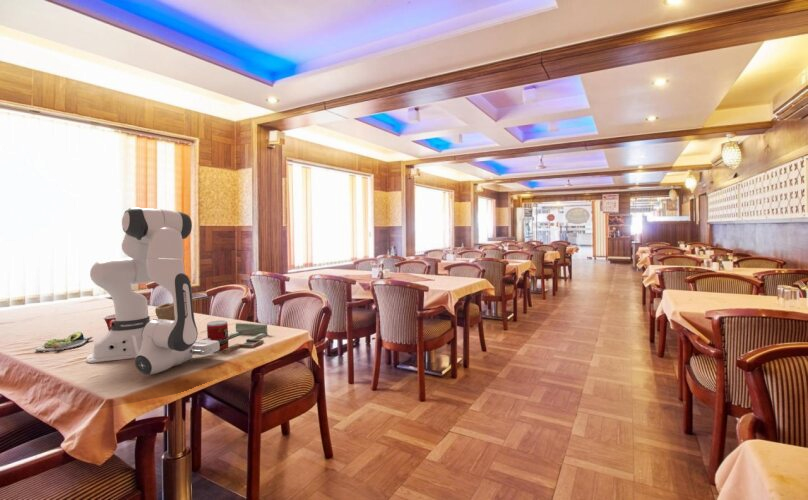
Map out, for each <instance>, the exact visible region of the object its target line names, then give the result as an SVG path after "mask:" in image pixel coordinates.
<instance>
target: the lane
mask: <svg viewBox="0 0 808 500" xmlns="http://www.w3.org/2000/svg"><path fill="white" fill-rule="evenodd" d="M238 335H242V336H245V335H247V336H249V335H250V336H252V337H248V338H246V339H245V342H244V343H236V344H233V345H230V346H228V348H226V349H223V350H221V351H222V354H229V353H231V352H232V351H235V350H237V349H240V348H246V349H253V348H255V347H259V345H262V344H264V343H265V341H264V339H262V338H263V337H266V336H268V324H267V323H251V322H250V323H245V322H236V323H235V331H234V332H231V333H228V340H229V339H231V338H235V337H236V336H238ZM206 338H207V339H208V337H206Z"/></svg>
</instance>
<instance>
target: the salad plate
mask: <svg viewBox="0 0 808 500" xmlns="http://www.w3.org/2000/svg"><path fill="white" fill-rule="evenodd" d="M93 337H94V336H90V337H88V336H86V337H85V336H84V333H82V332H81V331H79V332H74V333H72V334H70V335H69V336H68V337H67V338H64V339H61V338H60V339H57V338H53V339H51V340H47V342H43V343H42V344H40V345H39V346H37V347H36V348H35V351H37V352H39V351H52V352H56V351H55V350H61V351H65V350H64V349H66V350H70V349H69V348H71V349H74V348H73V347H75V348H78V347H81V346H83V345H84V344H86V343H87V342H88V341H90V340H91V339H92V338H93ZM85 342H86V343H85ZM80 345H81V346H80ZM77 346H78V347H77ZM42 347H54V348H45V349H41V348H42Z"/></svg>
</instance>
